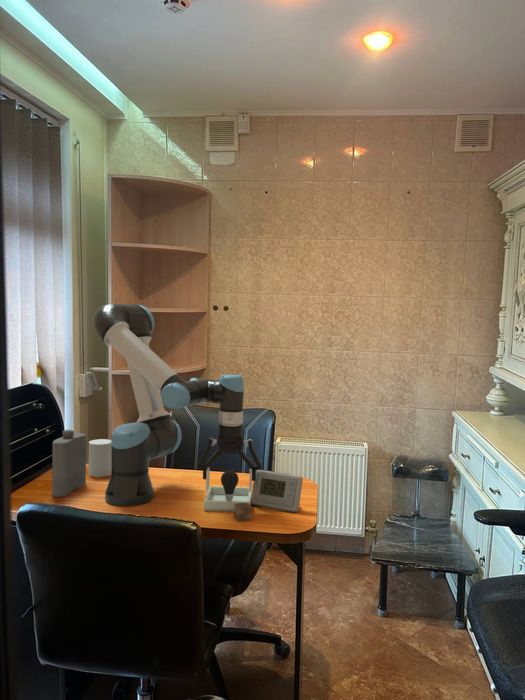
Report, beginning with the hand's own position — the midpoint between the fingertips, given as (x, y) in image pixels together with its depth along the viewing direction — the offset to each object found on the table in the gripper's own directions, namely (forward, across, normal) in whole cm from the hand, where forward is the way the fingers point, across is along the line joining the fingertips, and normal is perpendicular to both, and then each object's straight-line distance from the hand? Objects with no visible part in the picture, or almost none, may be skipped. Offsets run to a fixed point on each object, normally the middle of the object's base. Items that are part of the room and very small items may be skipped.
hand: (228, 490), depth 165 cm
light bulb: (+4, 0, 0) cm, 4 cm away
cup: (+4, -49, +26) cm, 56 cm away
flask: (+4, -54, +8) cm, 55 cm away
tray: (+4, 0, 0) cm, 4 cm away
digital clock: (+5, +15, -2) cm, 16 cm away
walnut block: (+4, +5, -12) cm, 14 cm away
